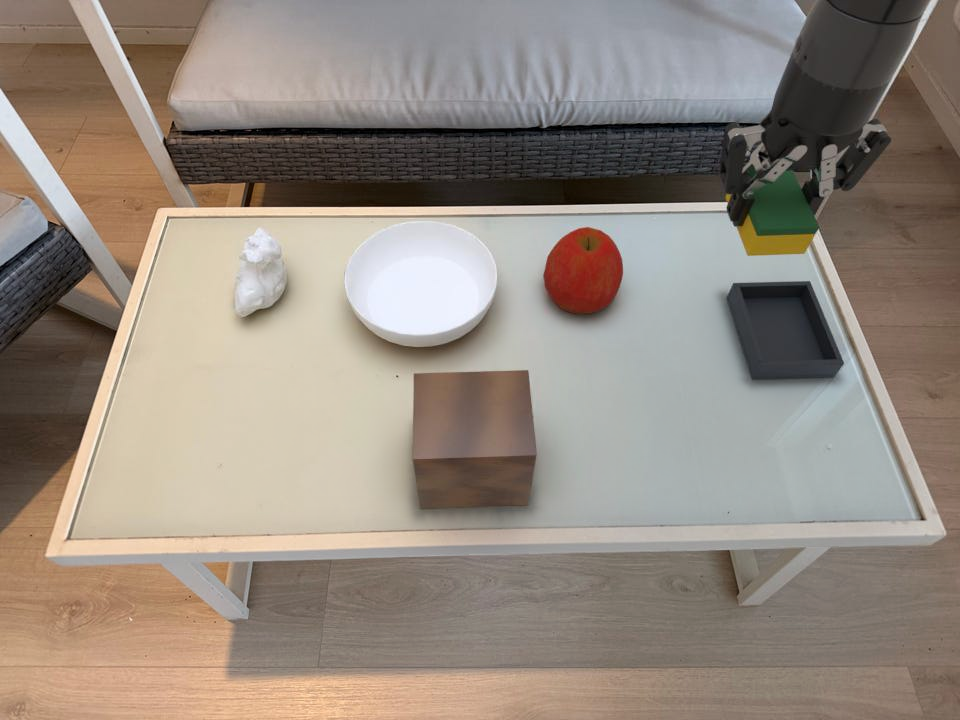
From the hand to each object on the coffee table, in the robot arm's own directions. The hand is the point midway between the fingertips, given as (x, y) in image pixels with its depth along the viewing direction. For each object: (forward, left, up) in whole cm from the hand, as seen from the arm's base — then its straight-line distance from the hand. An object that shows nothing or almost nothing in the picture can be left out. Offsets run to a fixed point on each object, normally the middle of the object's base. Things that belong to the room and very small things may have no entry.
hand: (767, 219), depth 67 cm
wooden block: (+11, +29, -26) cm, 41 cm away
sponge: (0, 0, -1) cm, 1 cm away
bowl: (+32, +16, -26) cm, 45 cm away
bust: (+49, +29, -26) cm, 63 cm away
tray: (-5, -12, -26) cm, 29 cm away
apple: (+18, 0, -26) cm, 32 cm away
